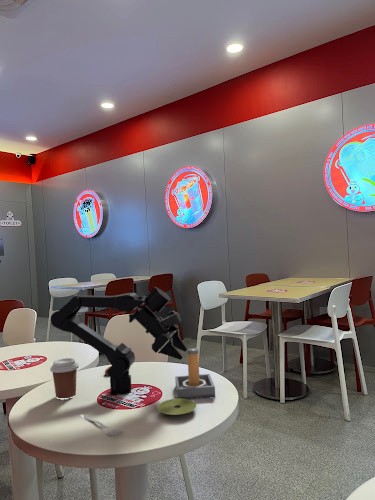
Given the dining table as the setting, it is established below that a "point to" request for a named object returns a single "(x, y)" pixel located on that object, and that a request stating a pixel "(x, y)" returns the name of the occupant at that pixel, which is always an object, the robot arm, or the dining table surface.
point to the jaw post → (193, 367)
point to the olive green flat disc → (177, 406)
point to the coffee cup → (64, 377)
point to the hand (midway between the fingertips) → (184, 354)
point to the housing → (195, 387)
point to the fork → (103, 426)
